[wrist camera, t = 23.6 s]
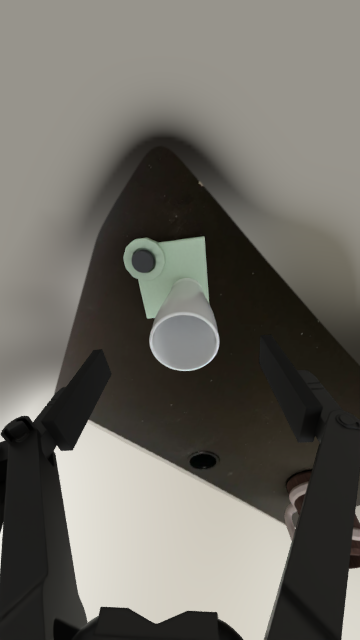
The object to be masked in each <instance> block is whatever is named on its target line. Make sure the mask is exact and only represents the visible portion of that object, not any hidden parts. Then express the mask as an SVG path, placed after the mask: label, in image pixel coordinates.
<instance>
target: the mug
mask: <svg viewBox="0 0 360 640" xmlns="http://www.w3.org/2000/svg"><path fill="white" fill-rule="evenodd" d="M311 472H312V471H307V472H302V473H299V474H296V475H295V476H293V477H292V478H291V479H290V480H289V481H288V483H287V487H286V488H287V491H288V493H289V495H290V496H289V499H290V501H291V504H290V505H288V506H287V508H286V511H285V514H284V515H285V522H286V526H287V529H288V532H289V534H290V537H291V540H292V539H293V536H294V532H295V528H294V525H293V521H292V514H293V513H294V512H296V511H297V512H298V514H299V515H300V511H301V508H302V504H303V500H304V497H305V493H306V490H307V486H308V483H309V479H310V476H311ZM359 567H360V523H359V521H358V519H357V517H356V515H355V517H354V526H353V535H352V544H351V553H350V562H349V569H352V568H359Z"/></svg>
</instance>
